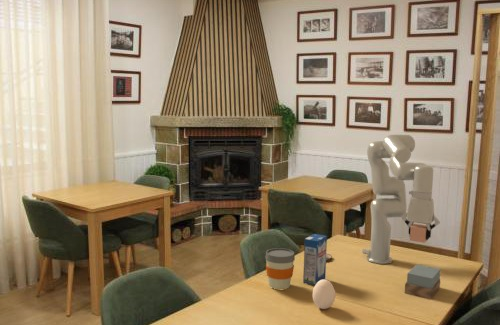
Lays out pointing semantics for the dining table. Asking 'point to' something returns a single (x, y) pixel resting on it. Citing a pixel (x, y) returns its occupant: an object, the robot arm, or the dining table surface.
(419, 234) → the terracotta block
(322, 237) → the milk carton
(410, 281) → the slate top block
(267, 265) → the reusable coffee cup
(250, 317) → the dining table surface
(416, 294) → the walnut base block
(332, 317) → the dining table surface
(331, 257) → the burger
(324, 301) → the egg
